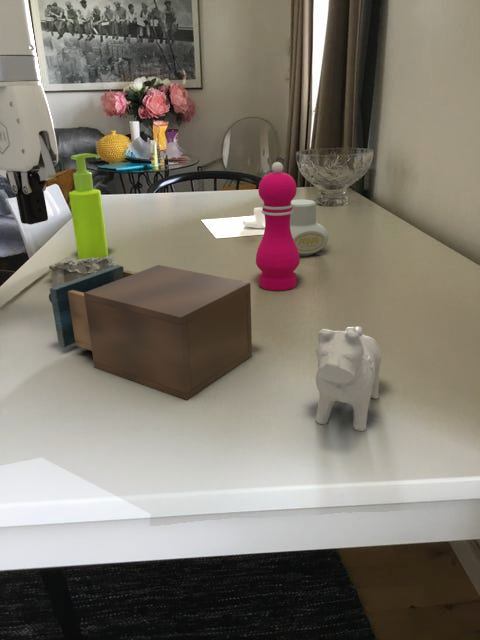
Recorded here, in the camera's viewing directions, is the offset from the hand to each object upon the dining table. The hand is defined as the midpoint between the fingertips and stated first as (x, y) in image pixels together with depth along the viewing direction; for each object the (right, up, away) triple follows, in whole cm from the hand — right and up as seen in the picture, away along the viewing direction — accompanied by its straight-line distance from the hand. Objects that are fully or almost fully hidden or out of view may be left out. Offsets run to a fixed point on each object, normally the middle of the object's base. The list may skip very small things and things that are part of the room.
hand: (35, 221), depth 77 cm
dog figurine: (+39, -23, -19) cm, 49 cm away
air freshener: (+40, 0, +36) cm, 54 cm away
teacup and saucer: (+30, +9, +60) cm, 67 cm away
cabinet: (+20, -18, -7) cm, 28 cm away
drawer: (+12, -16, -2) cm, 20 cm away
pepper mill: (+34, -8, +18) cm, 39 cm away
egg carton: (0, -7, +23) cm, 24 cm away
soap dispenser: (-1, -1, +37) cm, 37 cm away
